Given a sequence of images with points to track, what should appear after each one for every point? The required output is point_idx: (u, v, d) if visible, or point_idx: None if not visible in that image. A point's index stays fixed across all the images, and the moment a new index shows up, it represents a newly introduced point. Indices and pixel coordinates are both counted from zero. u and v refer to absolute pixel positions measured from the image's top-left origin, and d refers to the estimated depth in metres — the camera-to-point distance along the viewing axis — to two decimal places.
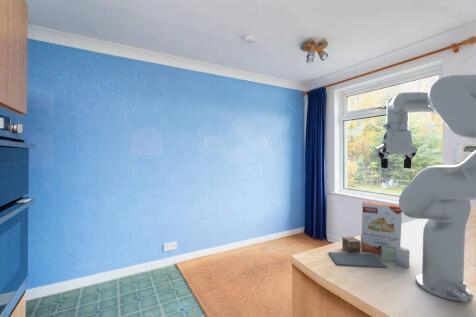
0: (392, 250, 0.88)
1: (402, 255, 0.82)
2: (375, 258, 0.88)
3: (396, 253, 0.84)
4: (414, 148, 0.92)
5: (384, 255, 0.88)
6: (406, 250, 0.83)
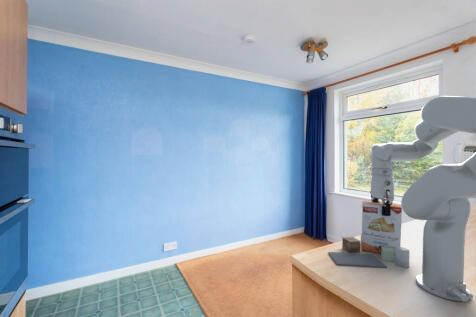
0: (392, 250, 0.88)
1: (402, 255, 0.82)
2: (375, 258, 0.88)
3: (396, 253, 0.84)
4: None
5: (384, 255, 0.88)
6: (406, 250, 0.83)
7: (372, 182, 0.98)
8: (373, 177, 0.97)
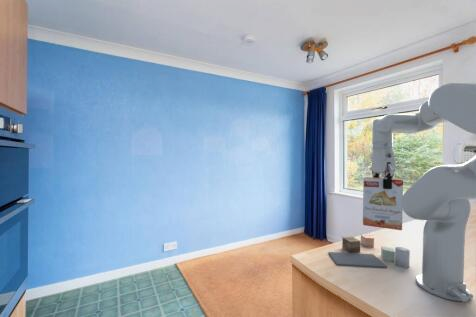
0: (392, 250, 0.88)
1: (402, 256, 0.82)
2: (375, 258, 0.88)
3: (396, 253, 0.84)
4: None
5: (384, 255, 0.88)
6: (406, 250, 0.83)
7: (373, 158, 0.98)
8: (374, 152, 0.96)
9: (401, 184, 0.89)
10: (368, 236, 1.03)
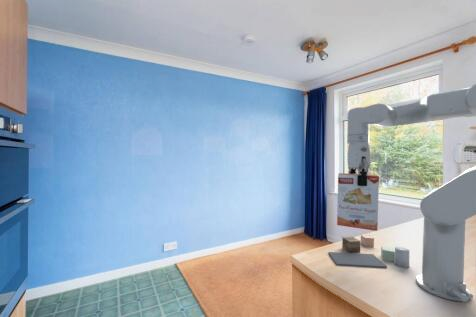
0: (392, 250, 0.88)
1: (401, 255, 0.82)
2: (375, 258, 0.88)
3: (396, 253, 0.84)
4: None
5: (384, 255, 0.88)
6: (406, 250, 0.83)
7: (348, 152, 0.90)
8: (349, 145, 0.88)
9: (377, 181, 0.81)
10: (368, 236, 1.03)
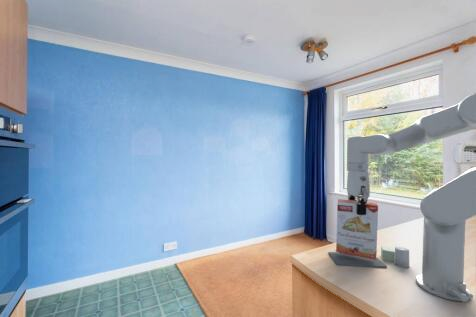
0: (392, 250, 0.88)
1: (401, 255, 0.82)
2: None
3: (396, 253, 0.84)
4: None
5: (384, 255, 0.88)
6: (406, 250, 0.83)
7: (348, 178, 0.90)
8: (349, 172, 0.89)
9: (376, 210, 0.82)
10: None
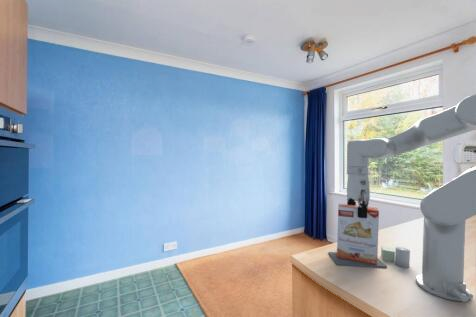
0: (392, 250, 0.88)
1: (401, 255, 0.82)
2: None
3: (396, 253, 0.84)
4: None
5: (384, 255, 0.88)
6: (406, 250, 0.83)
7: (348, 182, 0.90)
8: (349, 176, 0.89)
9: (377, 215, 0.82)
10: None
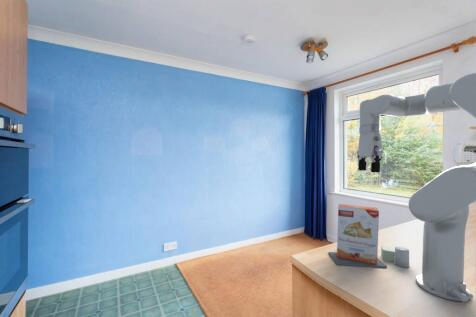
0: (392, 250, 0.88)
1: (401, 255, 0.82)
2: None
3: (395, 253, 0.84)
4: None
5: (384, 255, 0.88)
6: (406, 250, 0.83)
7: (359, 142, 0.94)
8: (361, 136, 0.93)
9: (377, 215, 0.82)
10: None
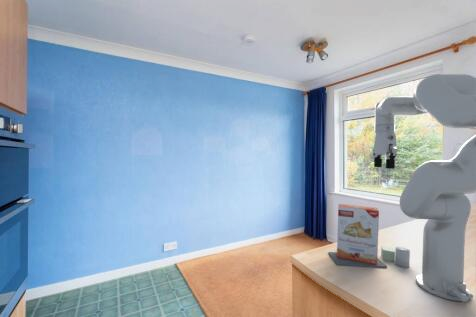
0: (392, 250, 0.88)
1: (401, 255, 0.82)
2: None
3: (396, 252, 0.84)
4: None
5: (384, 255, 0.88)
6: (406, 250, 0.83)
7: (375, 141, 1.01)
8: (376, 135, 1.00)
9: (377, 215, 0.82)
10: None
